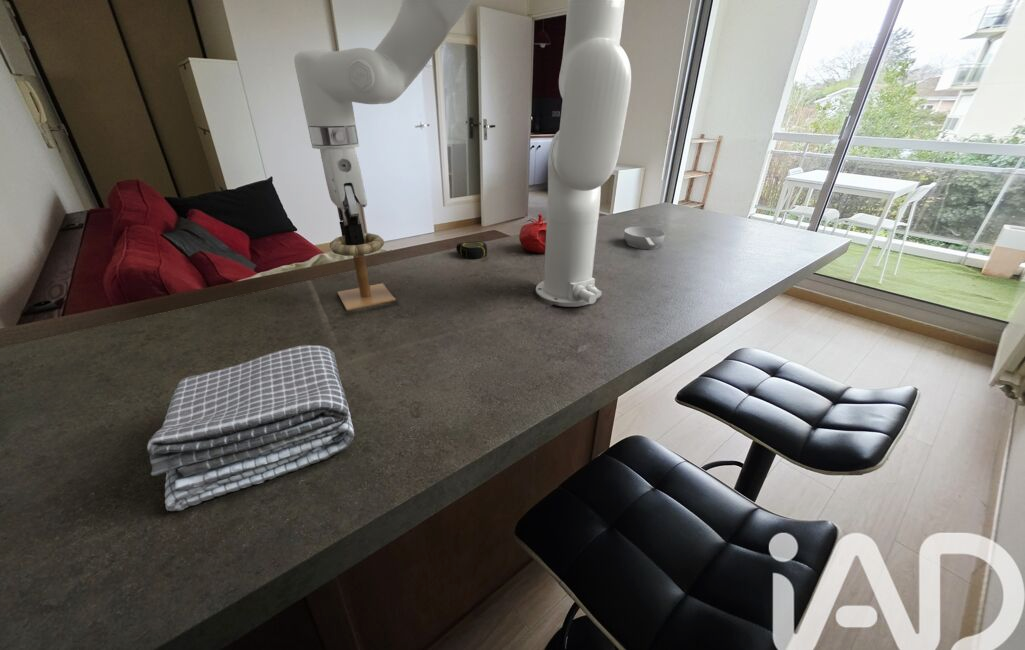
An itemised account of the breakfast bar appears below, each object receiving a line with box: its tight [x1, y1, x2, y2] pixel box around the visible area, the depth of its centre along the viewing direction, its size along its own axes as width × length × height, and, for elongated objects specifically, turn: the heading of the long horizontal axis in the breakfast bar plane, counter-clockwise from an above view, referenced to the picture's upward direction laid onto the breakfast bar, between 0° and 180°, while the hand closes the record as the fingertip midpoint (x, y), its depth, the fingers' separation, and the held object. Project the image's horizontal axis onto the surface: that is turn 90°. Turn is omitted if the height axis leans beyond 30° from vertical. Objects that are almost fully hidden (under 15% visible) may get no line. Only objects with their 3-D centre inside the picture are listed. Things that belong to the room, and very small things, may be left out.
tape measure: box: [455, 240, 488, 260], centre depth 103 cm, size 7×7×4 cm
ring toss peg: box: [337, 254, 396, 312], centre depth 79 cm, size 9×9×9 cm
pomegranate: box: [518, 213, 547, 254], centre depth 108 cm, size 10×10×9 cm
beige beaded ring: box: [329, 232, 385, 257], centre depth 76 cm, size 9×9×2 cm
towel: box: [146, 344, 355, 512], centre depth 46 cm, size 15×18×8 cm
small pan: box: [623, 226, 666, 250], centre depth 111 cm, size 11×18×4 cm, turn 172°
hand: (353, 242), depth 79 cm, fingers closed on beige beaded ring, 2 cm apart
